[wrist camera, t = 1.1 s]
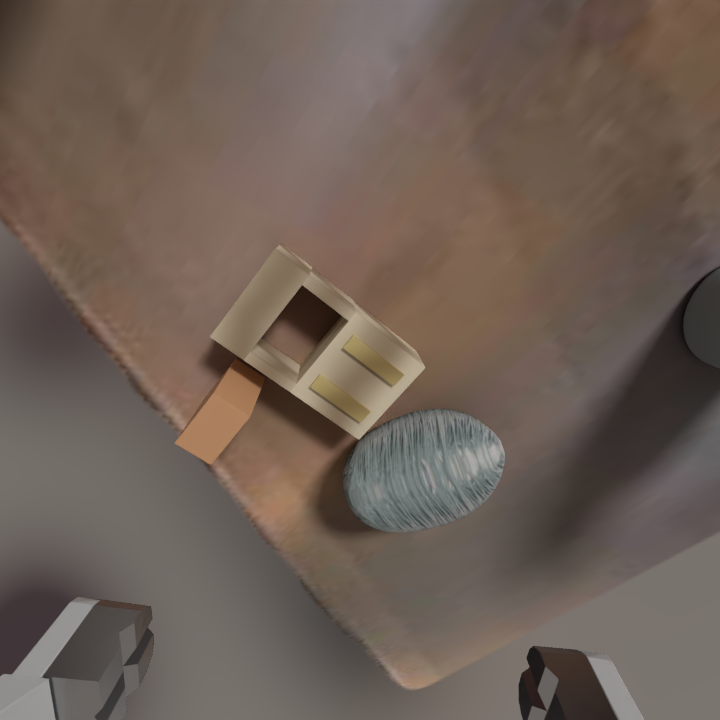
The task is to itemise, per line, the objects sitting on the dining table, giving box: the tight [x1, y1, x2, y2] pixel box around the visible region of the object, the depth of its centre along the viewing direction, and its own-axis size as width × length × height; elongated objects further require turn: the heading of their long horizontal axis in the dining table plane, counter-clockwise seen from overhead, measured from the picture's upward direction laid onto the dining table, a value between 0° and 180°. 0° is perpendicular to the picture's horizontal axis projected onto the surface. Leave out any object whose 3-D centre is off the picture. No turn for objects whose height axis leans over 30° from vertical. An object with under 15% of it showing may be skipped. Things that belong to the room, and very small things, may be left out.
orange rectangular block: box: [175, 358, 265, 465], centre depth 33 cm, size 3×5×7 cm, turn 140°
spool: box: [343, 409, 505, 533], centre depth 36 cm, size 14×10×10 cm
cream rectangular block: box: [210, 244, 425, 439], centre depth 33 cm, size 14×8×4 cm, turn 50°
